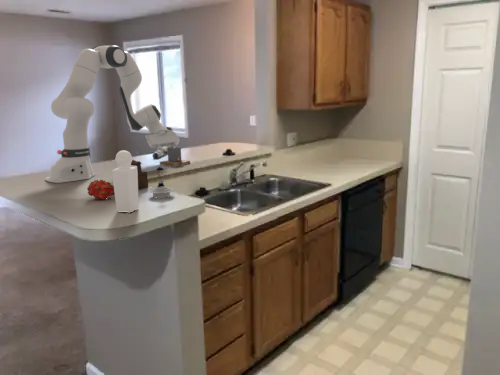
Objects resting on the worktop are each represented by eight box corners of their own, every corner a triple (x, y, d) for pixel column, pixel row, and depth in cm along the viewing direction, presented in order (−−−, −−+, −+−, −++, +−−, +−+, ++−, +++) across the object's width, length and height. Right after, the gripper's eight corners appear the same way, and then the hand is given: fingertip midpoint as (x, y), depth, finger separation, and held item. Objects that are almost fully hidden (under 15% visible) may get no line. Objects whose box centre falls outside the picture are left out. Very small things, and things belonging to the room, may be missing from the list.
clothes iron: (131, 182, 202) (128, 153, 199) (149, 187, 191) (147, 157, 187) (115, 185, 196) (112, 156, 193) (133, 191, 185) (130, 160, 182)
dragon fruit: (87, 201, 175) (116, 206, 174) (80, 194, 167) (111, 198, 167) (93, 182, 178) (122, 186, 178) (86, 174, 170) (116, 178, 170)
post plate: (173, 166, 239) (172, 149, 236) (160, 164, 246) (159, 147, 244) (190, 163, 247) (189, 147, 245) (176, 161, 255) (175, 145, 253)
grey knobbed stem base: (161, 163, 180) (141, 167, 172) (177, 166, 173) (157, 170, 166) (163, 192, 182) (143, 197, 175) (179, 195, 176) (159, 201, 169)
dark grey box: (174, 162, 242) (174, 148, 241) (167, 161, 247) (166, 147, 245) (182, 161, 246) (181, 147, 244) (174, 160, 250) (174, 146, 249)
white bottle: (125, 208, 160) (120, 148, 155) (140, 209, 158) (136, 149, 153) (114, 213, 154) (109, 151, 148) (131, 214, 152) (126, 152, 147)
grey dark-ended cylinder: (150, 152, 264) (163, 141, 287) (152, 163, 267) (164, 151, 290) (159, 152, 264) (171, 141, 287) (160, 163, 266) (172, 151, 289)
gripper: (145, 130, 242) (157, 149, 238) (174, 127, 257) (185, 145, 253) (141, 138, 246) (153, 156, 242) (169, 134, 261) (181, 152, 257)
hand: (170, 150), depth 248 cm, fingers open, 8 cm apart
